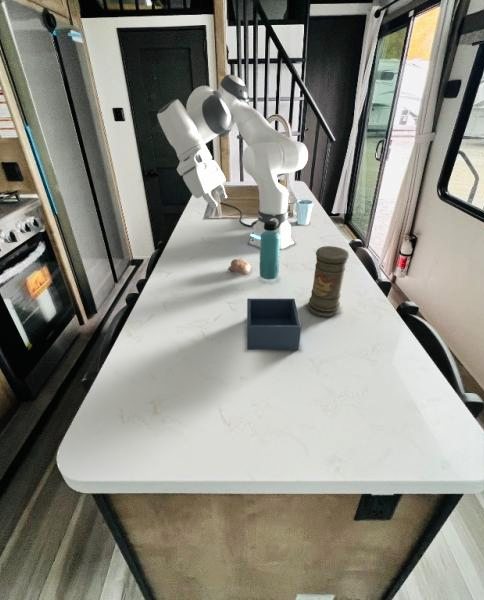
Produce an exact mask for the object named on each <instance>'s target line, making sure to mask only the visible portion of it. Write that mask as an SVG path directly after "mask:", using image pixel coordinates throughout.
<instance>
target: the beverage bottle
mask: <svg viewBox="0 0 484 600" xmlns="http://www.w3.org/2000/svg"><path fill="white" fill-rule="evenodd" d="M264 229H265V230H268V231H265V232H263V233H262V234H261V236H260V238H261V241H260V248H259V250H260V251H259V276H260V277H261V278H262V279H264V280H274V279H276V278H278V276H279V273H280V272H279V271H280V270H279V269H280V249H279V245H280V235H279V234H278V233H277V232H276V231H274V230H277V222H275V221H266V222H265V223H264Z"/></svg>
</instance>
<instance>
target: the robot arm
mask: <svg viewBox="0 0 484 600" xmlns="http://www.w3.org/2000/svg"><path fill="white" fill-rule="evenodd" d="M250 100H251V99H250V96H249V91H248V87H247V85H246V83H245V82H244V81H243V80H242V78H240V77H239V76H237V75H234V74H226V75H224V76H223V78H222V79H221V80H220V83H219V87H218V89H217V90H214V89H213V88H212V87H211V86H208V85H200V86H198V87H196V88H194V89H193V91H192V92H191V93H190V94H189V97H188V99H187V101H186V106H184V105H183V104H182V102H181V101H180V100H179V99H178V98H177V99H172V100H171V101H169V102H168V103H167V104H165V105H164V106H162V108H160V109H159V110H158V112H157V114H156V116H157V120H158V123H159V125H160V127H161V129H162V131H163V134H164V135H165V137H166V139H167V141H168V142H169V145H170V146H172V148H173V149H174V150H175V151H174V152H176V156H177V158H178V161H179V163H178V165H177V168H176V171H177V173H178V175H179V176H180V177H181V176H182V179H183V181H184V183H185V185H186V187H187V188H188V190H189V192H190V193H191V195H192V196H193V197H195V198H196V199H200V198H201V197H202V198H203V200H204V201H205V202H206V203H208V205H209V206H210V208H211V209H215V208H216V207H218V205H219V204H220V205H223V206H227V207H230V208H232V209H235V210H236V211H238V212H239V213H240V217H239V219H238V220H239V221H238V222H239V223H240V224H241V225H243V226H245V227H248V228H252V229H253V233H250V239H249V241H248V245H251V246H255V247H257V248H259V249H260V241H261V238H260V236H261V234H262V233H263V232H265V231H268V230H265V229H264V223H265V222H266V221H275V222H277V230H274V231H276V232H277V233H278V234H279V235H280V245H279V250H284V249H286V248H287V247H290V246H292V245H294V244H295V241H294V240H293V239H292V237H291V229H292V227H291V226H292V225H291V224H290V222H288V217H289V210H288V203H289V202H288V201H289V191H288V189H287V187H286V186H285V185H283V184H281V183H280V182H278V175H280V174H289V173H295V172H297V171H300V170H302V169H304V168H305V166H306V165H307V162H308V159H309V151H308V148H307V146H306V144H305V143H304V142H301V141H298V140H294V139H293V138H291V137H288V136H287V135H284V134H283V133H281V132H280V131H278V130H276V129H275V128H274V127H273V126H272V125H271V124H270V123H269V121H267V119H266V118H265V117H264V116H263V114H261V112H259V111H258V110H257V109H255V108H253V107H252V106H250V105H249V104H248V102H250ZM185 107H186V108H185ZM234 124H236V127H237V129H238V133H239V134H240V136H241V137H242V139H243V141H244V142H245V143H246V145H247V146H246V147H245V149H244V150H243V152H242V157H241V164H242V167H243V169H244V171H245V172H246V173H247V175H249V176H251V177H252V178H253V180H254V181H255V183H256V186H257V190H258V197H259V198H258V199H259V200H258V201H259V202H258V204H259V209H258V212H257V220H255V221H253V222H251V224H247V223H245V222H243V221H242V219H243V211H241V209H240V208H238V207H237V206H234V205H230V204H227V203H224V202H223V201H225V200H226V199H228V195H227V194H226V190H225V186H224V184H223V183H226V180H227V179H226V176H225V174H224V172H223V171H222V169H221V168H220V166H219V164H218V163H217V161H216V160H215V159H213V156H212V154H211V152H210V150H209V149H208V146H207V145H206V144H208V143H209V142H211V141H212V140H213V139H215V138H216V137H219V138H226V137H227V136H228V135H229V134H230V133H231V131H232V128H233V126H234ZM214 189H216V191H217V192H218V195H219V199H220V201H221V202H219V203H218V201H217V200H216V199H214V197H213V196H212V193H211V191H212V190H214Z"/></svg>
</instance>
